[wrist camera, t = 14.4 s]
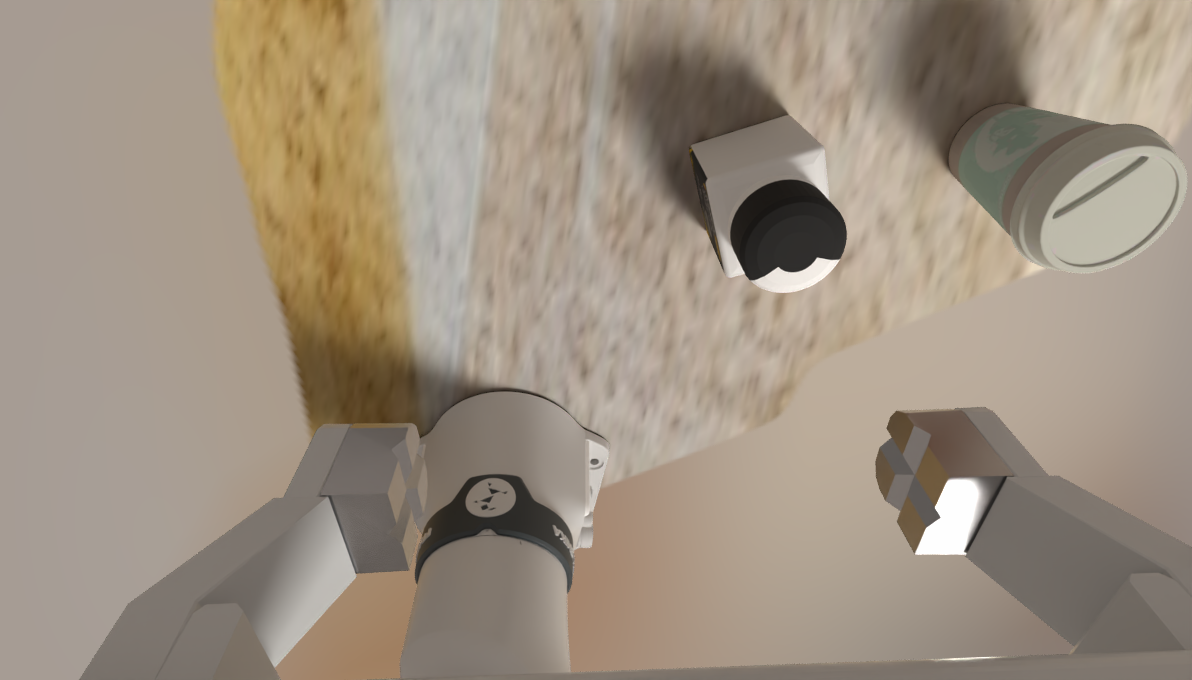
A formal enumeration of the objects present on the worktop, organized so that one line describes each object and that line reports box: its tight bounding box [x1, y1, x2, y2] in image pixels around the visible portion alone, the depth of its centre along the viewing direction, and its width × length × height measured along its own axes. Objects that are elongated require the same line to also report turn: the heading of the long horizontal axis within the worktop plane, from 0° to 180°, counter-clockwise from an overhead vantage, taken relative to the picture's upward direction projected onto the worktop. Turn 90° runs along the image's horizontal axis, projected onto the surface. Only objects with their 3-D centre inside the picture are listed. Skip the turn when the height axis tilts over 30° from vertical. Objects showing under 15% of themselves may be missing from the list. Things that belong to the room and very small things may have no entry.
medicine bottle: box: [689, 115, 847, 293], centre depth 40 cm, size 7×7×12 cm
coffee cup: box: [949, 103, 1187, 273], centre depth 39 cm, size 8×9×12 cm
